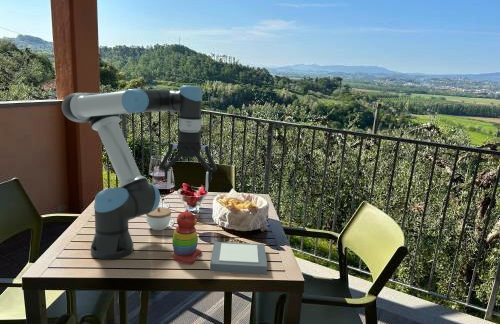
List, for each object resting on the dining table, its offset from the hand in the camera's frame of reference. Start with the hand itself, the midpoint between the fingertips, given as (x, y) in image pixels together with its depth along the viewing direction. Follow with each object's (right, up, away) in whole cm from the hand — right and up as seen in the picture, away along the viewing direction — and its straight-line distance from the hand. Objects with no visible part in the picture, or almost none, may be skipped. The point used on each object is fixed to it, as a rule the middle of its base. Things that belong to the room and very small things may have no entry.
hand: (187, 189), depth 133 cm
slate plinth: (+18, -27, +5) cm, 33 cm away
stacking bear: (-2, -26, +5) cm, 27 cm away
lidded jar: (-18, -20, +30) cm, 40 cm away
